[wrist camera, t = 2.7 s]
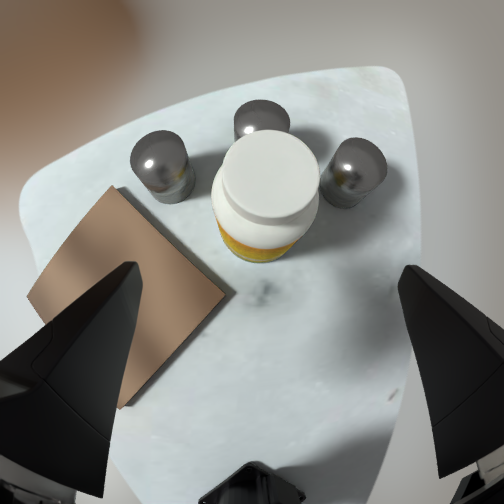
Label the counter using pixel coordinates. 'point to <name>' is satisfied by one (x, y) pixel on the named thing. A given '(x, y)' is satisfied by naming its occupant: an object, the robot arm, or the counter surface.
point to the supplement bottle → (265, 194)
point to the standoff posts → (245, 121)
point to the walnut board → (153, 275)
